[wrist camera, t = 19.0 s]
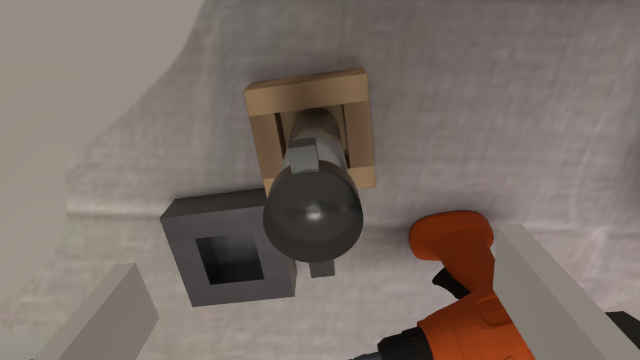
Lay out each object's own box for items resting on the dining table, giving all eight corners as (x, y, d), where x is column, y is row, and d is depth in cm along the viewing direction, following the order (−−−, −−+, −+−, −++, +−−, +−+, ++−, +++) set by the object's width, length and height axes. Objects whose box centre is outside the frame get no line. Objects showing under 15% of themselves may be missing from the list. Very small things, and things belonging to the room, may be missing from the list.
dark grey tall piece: (281, 93, 29) (247, 156, 15) (337, 85, 28) (355, 142, 15) (295, 172, 31) (277, 287, 18) (347, 165, 31) (369, 276, 17)
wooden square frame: (362, 67, 28) (367, 73, 25) (370, 170, 32) (376, 186, 29) (252, 83, 29) (243, 90, 26) (272, 182, 32) (267, 200, 29)
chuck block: (279, 186, 33) (274, 204, 29) (296, 272, 37) (294, 296, 33) (175, 199, 33) (159, 218, 30) (203, 282, 37) (192, 307, 34)
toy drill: (292, 247, 34) (304, 396, 20) (481, 200, 34) (620, 313, 20) (303, 286, 36) (321, 446, 22) (482, 241, 36) (610, 370, 22)
